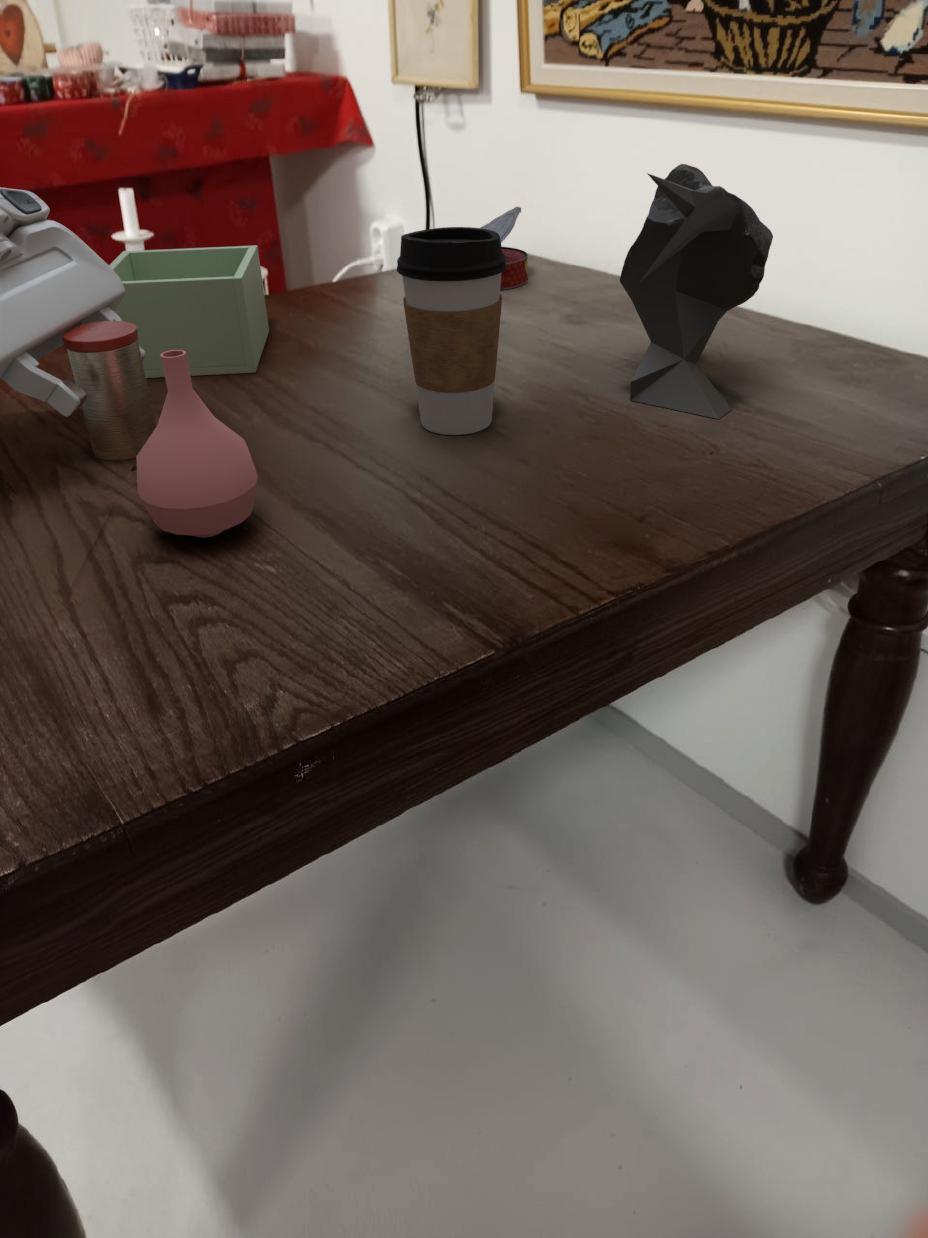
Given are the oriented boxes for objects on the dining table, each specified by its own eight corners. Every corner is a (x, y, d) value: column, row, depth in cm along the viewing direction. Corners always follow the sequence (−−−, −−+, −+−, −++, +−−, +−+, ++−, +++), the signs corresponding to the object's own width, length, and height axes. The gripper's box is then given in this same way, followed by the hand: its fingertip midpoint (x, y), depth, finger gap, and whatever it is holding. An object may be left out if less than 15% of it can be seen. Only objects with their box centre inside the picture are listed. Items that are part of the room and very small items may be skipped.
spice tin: (87, 473, 73) (52, 343, 67) (103, 447, 77) (72, 322, 72) (156, 470, 73) (127, 339, 68) (168, 443, 77) (142, 318, 72)
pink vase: (274, 544, 63) (247, 363, 56) (154, 567, 60) (111, 382, 54) (253, 496, 69) (226, 328, 62) (144, 515, 67) (104, 344, 60)
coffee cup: (388, 434, 78) (374, 239, 70) (430, 398, 84) (422, 217, 76) (485, 447, 75) (482, 246, 67) (520, 409, 82) (522, 222, 73)
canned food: (508, 327, 117) (496, 262, 109) (438, 309, 121) (421, 244, 112) (550, 265, 121) (541, 197, 113) (481, 249, 125) (467, 182, 116)
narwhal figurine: (786, 367, 89) (821, 153, 79) (719, 419, 79) (749, 180, 69) (647, 342, 96) (663, 143, 86) (569, 387, 86) (577, 167, 76)
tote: (111, 380, 91) (89, 284, 86) (141, 337, 102) (122, 250, 97) (255, 372, 92) (241, 277, 87) (269, 331, 103) (257, 245, 98)
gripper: (-135, 244, 57) (57, 406, 61) (46, 188, 74) (187, 317, 78) (-171, 318, 61) (13, 468, 64) (10, 248, 78) (148, 369, 81)
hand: (110, 384), depth 71 cm, fingers open, 8 cm apart
